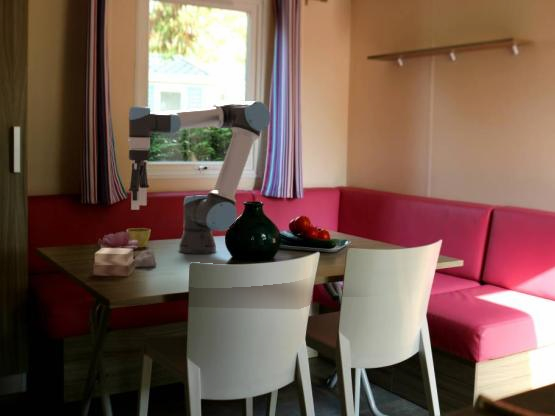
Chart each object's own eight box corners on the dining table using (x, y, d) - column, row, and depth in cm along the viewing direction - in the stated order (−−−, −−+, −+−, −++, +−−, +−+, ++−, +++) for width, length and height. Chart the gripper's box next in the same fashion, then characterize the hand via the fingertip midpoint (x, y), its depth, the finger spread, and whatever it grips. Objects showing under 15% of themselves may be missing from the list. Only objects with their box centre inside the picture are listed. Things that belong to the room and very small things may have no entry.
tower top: (133, 259, 259) (133, 248, 259) (127, 265, 248) (127, 254, 248) (102, 258, 259) (102, 247, 258) (94, 264, 248) (94, 253, 248)
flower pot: (130, 244, 312) (131, 227, 311) (153, 245, 310) (153, 228, 309) (122, 248, 302) (122, 231, 301) (146, 249, 300) (146, 232, 300)
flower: (145, 251, 280) (140, 226, 280) (108, 258, 272) (103, 233, 273) (133, 255, 293) (128, 231, 293) (98, 263, 285) (92, 238, 286)
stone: (132, 267, 263) (132, 251, 262) (138, 263, 272) (138, 247, 272) (155, 268, 263) (155, 252, 262) (159, 263, 272) (159, 248, 272)
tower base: (134, 270, 260) (135, 259, 260) (128, 277, 248) (128, 265, 248) (101, 269, 260) (101, 258, 260) (93, 276, 248) (93, 265, 248)
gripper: (136, 147, 276) (135, 203, 279) (121, 150, 252) (121, 211, 254) (155, 148, 276) (155, 203, 279) (142, 150, 251) (142, 211, 254)
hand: (139, 207), depth 266 cm, fingers open, 13 cm apart
